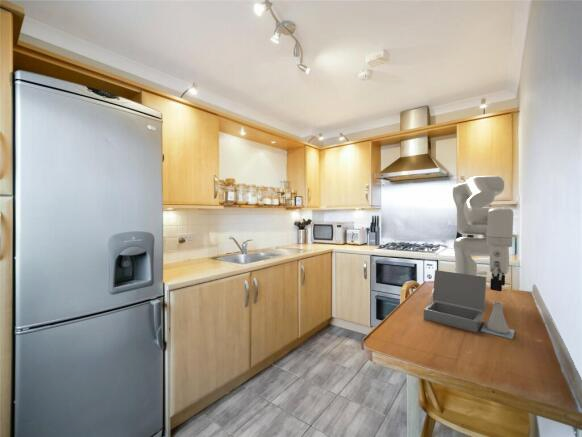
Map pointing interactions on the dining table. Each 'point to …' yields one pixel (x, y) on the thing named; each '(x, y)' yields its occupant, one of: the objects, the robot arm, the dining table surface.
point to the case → (454, 315)
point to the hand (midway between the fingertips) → (497, 287)
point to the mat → (508, 335)
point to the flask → (497, 320)
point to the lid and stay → (459, 289)
